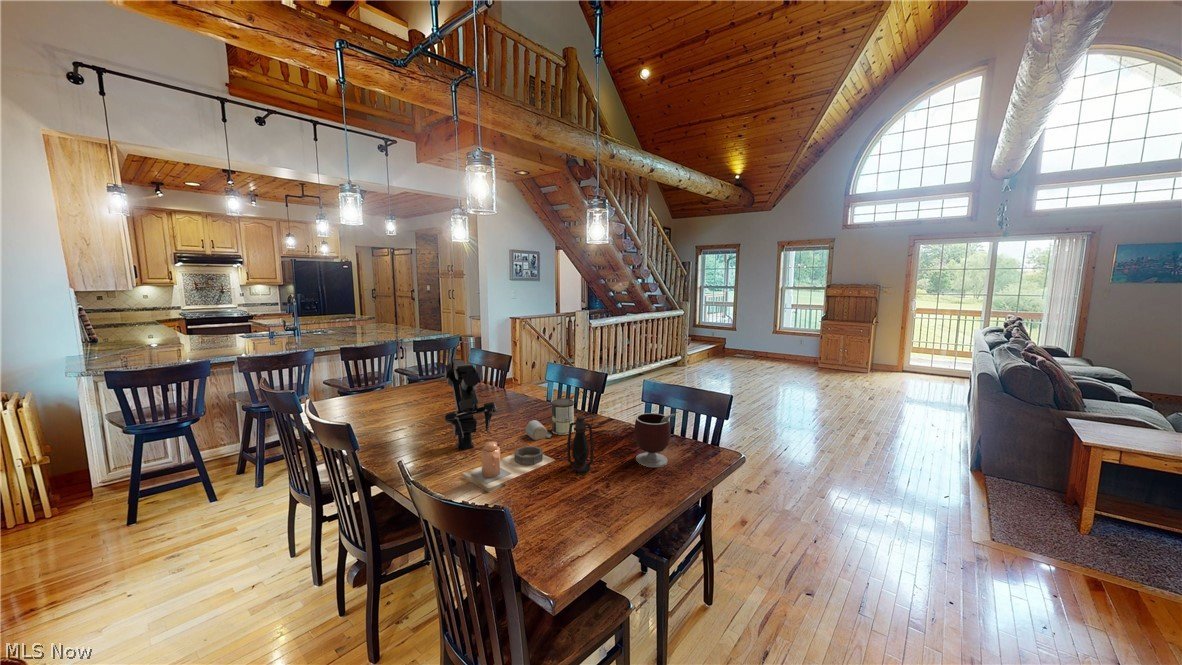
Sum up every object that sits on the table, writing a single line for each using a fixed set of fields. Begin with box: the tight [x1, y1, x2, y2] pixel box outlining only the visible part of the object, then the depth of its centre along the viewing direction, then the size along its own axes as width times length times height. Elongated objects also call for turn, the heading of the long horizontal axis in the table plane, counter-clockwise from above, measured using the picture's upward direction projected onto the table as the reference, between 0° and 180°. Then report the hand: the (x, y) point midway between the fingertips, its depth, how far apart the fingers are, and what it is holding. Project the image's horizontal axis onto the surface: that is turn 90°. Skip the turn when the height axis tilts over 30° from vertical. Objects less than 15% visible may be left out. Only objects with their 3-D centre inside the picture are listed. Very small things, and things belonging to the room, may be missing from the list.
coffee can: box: [551, 398, 575, 436], centre depth 196 cm, size 10×10×14 cm
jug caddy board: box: [462, 445, 556, 493], centre depth 157 cm, size 30×16×4 cm, turn 137°
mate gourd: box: [633, 412, 676, 468], centre depth 164 cm, size 16×14×20 cm
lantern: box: [566, 390, 595, 475], centre depth 156 cm, size 8×8×30 cm
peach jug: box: [480, 440, 501, 478], centre depth 149 cm, size 9×6×11 cm
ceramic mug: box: [524, 419, 553, 441], centre depth 187 cm, size 11×8×8 cm
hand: (475, 434), depth 159 cm, fingers open, 9 cm apart
